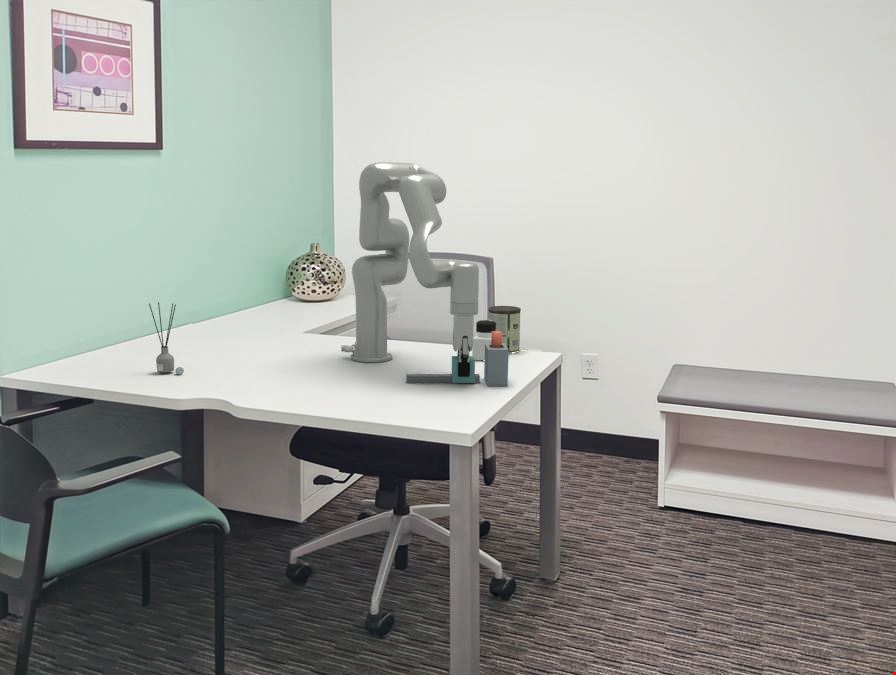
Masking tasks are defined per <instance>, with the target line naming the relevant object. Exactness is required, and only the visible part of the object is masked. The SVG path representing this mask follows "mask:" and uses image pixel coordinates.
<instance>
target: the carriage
mask: <svg viewBox="0 0 896 675" xmlns="http://www.w3.org/2000/svg"><path fill="white" fill-rule="evenodd" d="M458 362H459V356H457V355H452V356H451V374H452V383H451V384H476V383H475V374H476V361H475V359H474V356H472V355H469V362H470V376H469V377H459V376H458Z"/></svg>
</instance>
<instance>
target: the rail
mask: <svg viewBox="0 0 896 675" xmlns="http://www.w3.org/2000/svg"><path fill="white" fill-rule="evenodd" d="M405 378H406V381H405V382H406V384H453V383H452V373H406V377H405ZM480 382H481V375H480V373H475V383H474V384H480Z"/></svg>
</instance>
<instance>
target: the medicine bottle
mask: <svg viewBox="0 0 896 675" xmlns="http://www.w3.org/2000/svg"><path fill="white" fill-rule="evenodd" d="M475 326H476V328H475V329H476V330H475V336H474V335H473V345H472V351H471V352H472V353H471V354H472V355H471V356H474V359H475V360H485V343H491V332H492V331H496V323H495V322H494V321H492V320H489V319H481V320H478V321H476V325H475Z"/></svg>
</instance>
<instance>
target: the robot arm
mask: <svg viewBox="0 0 896 675" xmlns="http://www.w3.org/2000/svg"><path fill="white" fill-rule="evenodd" d="M358 186H359V188H358V189H359V196H360V210H359V211H360V212H359V214H360V215H359V231H358V233H359V236H358V240H359V245H360V246H361V248H362V249H363V250H365V251H368V252H379V251H380V252H382V251H385V253H384V254H370V255H369V254H368V255H363V256H360V257H359V258H357V259H356V260H355V261H354V262H353V263H352V267H351V275H352V281H353V285H354V294H355V295H354V297H355V342H354V344H353V343H352V344H351V345H348V344H347V345H345V344H344V345H341V347H340V348H341V350H340V351H341V352H344V353H351V354H350V359H351V358H352V359H353V360H352V359H351V360H352V361H355V360H356V361H355V362H359V361H360V363H384V362H388V361H390V360H392V359H393V354H392V353H391V352H389V351H388V300H387V297H386V295H385V293H384V291H383V288H382V287H385V286H393V285H399V284H402V282H403V281H404V280H405V279H406V276H407V273H408V268H409V267H408V266H409V265H408V264H409V262H410V265H411V268H412V271H413V273H414V274H413V275H414V277H415V278H416V279H417V282H418V283H419V284H420V285H421V286H422V287H423V288H425V289H438V288H440V289H441V288H449V287H450V297H449V298H450V305H449V306H450V307H449V308H450V309H449V311H450V312H449V313H450V315H453V322H452V325H453V326H452V349H453V350H454V352H457V354H456V356H459V362H458V376H459V377H469V376H470V362H469V356H470V352H472V345H473V338H474V323H475V322H474V316H477V315H479V289H480V288H479V286H480V284H479V283H480V282H479V281H480V280H479V279H480V278H479V276H480V274H479V273H480V269H479V268H480V267H479V265H478V264H477V263H476V262H470V261H469V262H467V261H461V260H458V259H454V258H449V259H433V260H432V258H431V255H430V253H429V251H428V245H427V244H428V242H427V241H428V238H429V236H431V235H432V234H434V233H436V231H438V230H439V229H440V228H441V226H442V224H443V221H442V217H441V215H440V211H439V209H438V207H437V205H439V204H441V203H442V202H444V200H445V199H446V196H447V186H446V183H445V182H444V180H443V179H442V177H441V176H439V175H438V174H436V173H435V172H432V171H431V170H428V169H426V168H424V167H422V166H420V165H419V164H416V163H413V162H393V161H387V162H386V161H382V162H381V161H380V162H378V161H377V162H374V163H370V164H368V165H366V166H365V167H364V169H363V170H362V171H361V173H360V176H359V182H358ZM385 193H398V195H399V197H400V200H401V203H402V205H403V207H404V210H405V212H406V215H407V218H408V222H409V224H410V226H411V229H412V236H411V238H410V231H409V228H408V226H407V224H406V223H405V222H404V221H403V220H401V218H390V209H391V208H390V202H389V199H388V197H387V195H386V194H385Z"/></svg>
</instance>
